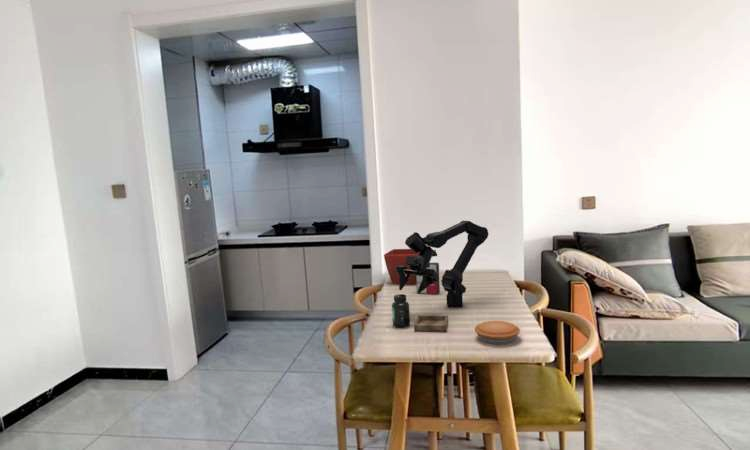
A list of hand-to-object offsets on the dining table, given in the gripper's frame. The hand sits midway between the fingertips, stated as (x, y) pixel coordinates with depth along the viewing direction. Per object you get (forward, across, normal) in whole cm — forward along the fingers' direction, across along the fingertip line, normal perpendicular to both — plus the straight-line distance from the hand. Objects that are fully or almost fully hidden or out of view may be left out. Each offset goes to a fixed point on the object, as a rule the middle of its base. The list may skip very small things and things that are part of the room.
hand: (409, 291), depth 188 cm
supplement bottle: (+13, 0, +4) cm, 14 cm away
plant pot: (-29, -41, +47) cm, 68 cm away
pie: (+9, +38, +8) cm, 40 cm away
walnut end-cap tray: (+10, +11, +8) cm, 17 cm away
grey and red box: (-19, -17, +36) cm, 44 cm away
